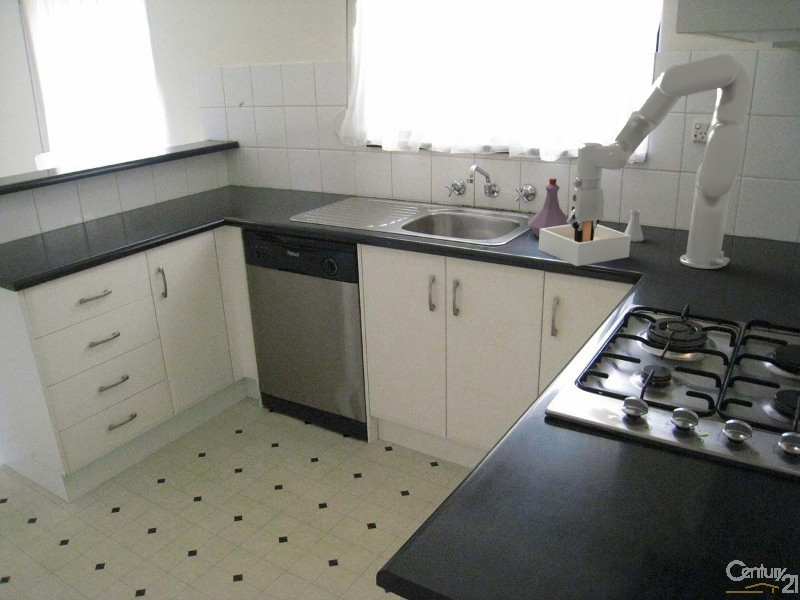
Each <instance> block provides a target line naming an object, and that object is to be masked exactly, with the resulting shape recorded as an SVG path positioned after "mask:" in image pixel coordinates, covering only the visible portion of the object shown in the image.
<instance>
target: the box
mask: <svg viewBox="0 0 800 600" xmlns="http://www.w3.org/2000/svg"><path fill="white" fill-rule="evenodd" d="M578 224H579V222H578ZM574 234H575V229H573V227H572V226H571V225H570V224H569V225H562V226H555V227H549V228H542V229H540V232H539V237H538V250H539V251H541V252H543V253H545V254H548V255H550V256H552V257H554V258H558V260H559V259H560V260H561V261H564V262H566V263H568V264H571V265H573V266H575V267H580V266H585V265H586V266H587V265H590V264H592V265H593V264H597V263H602V262H608V261H612V260H614V261H615V260H619V259H625V258H629V257H630V249H631V241H630V240H631V235H628V234H625V232H622V231H618V230H615V229H613V228H611V227H606V226H605V225H600V224H599V223H598V224H597V226H596V228H595V229H594V239H593V241H587V242H581V243H579V242H576V241H574Z"/></svg>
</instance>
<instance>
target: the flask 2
mask: <svg viewBox="0 0 800 600" xmlns="http://www.w3.org/2000/svg"><path fill="white" fill-rule="evenodd" d="M641 212H642V211H641V210H638V209H631V210H630V213H631V214H630V215H631V216H630V220H629V222H628V224H627V227H626V229H625V230H624V233H625V234H628V235H631V240H630V242H635V243H636V242H643V241H644V240H645V238H644V234H643V231H642V227H641V223H640V214H641Z"/></svg>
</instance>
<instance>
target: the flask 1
mask: <svg viewBox="0 0 800 600" xmlns="http://www.w3.org/2000/svg"><path fill="white" fill-rule="evenodd" d="M548 179H549V181H548V182H549V183H548V184H547V185H545V190H546V196H545V199H544V202H543V206H542V207H541V208H540V209H539V210H538V212H536V213H535V214H534V215H533V216H532V217H531V218H530V219H529V220H528V221H527V224H528V227H529V229H530V230H531V231H532V232H533V233H534V235H535V236H536V238H539V232H540V229H542V228H549V227H555V226H562V225H569V223H567V219H568V216H567V215H566V214H565V213H564V212H563V210H562V209H561V207H560V203H559V198H558V192H559V190H560V186H559V185H558V184H557V178H548Z"/></svg>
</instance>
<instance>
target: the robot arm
mask: <svg viewBox="0 0 800 600" xmlns="http://www.w3.org/2000/svg"><path fill="white" fill-rule="evenodd" d="M713 90H716V98H715V100H716V101H715V105H714V110H713V113H712V118H711V122H710V126H709V128H708V132H707V134H706V138H705V139H706V140H705V141H706V145H705V148H704V149H705V150H704V153H703V158H702V163H700V164H699V166H698V168H697V170H696V174H695V183H694V193H693V202H692V209H691V215H690V224H689V229H688V238H687V239H688V240H687V245H686V253H685V254H683V255H681V256H680V257H679V262H680V263H681V264H683V266H687V267H691V268H696V269H704V270H714V269H715V270H716V269H720V268H724V267H725V266H728V263H730V261H731V259H730V258H729V257H726V256H724V255H725V251H724V250H722V248H723V241H724V237H725V236H724V235H725V229H726V222H727V216H728V210H729V203H730V196H731V190H732V189H733V188H734V186H735V183H736V180H737V177H738V174H739V173H738V172H739V169H740V166H741V162H742V159H743V154H744V150H745V147H746V146H745V145H746V134H745V130H744V128H745V124H746V119H747V114H748V111H749V106H750V100H751V94H752V93H751V92H752V85H751V80H750V76H749V74H748V72H747V70H746V68H745V67H744V65H743V64H742V63H741V62H740V61H739V60H738V59H736V58H735V57H734V56H732V55H731V54H729V53H724V52H720V53H715V54H713V55H712V56H710V57H706V58H703V59H702V58H701V59H700V60H696V61H691V62H687V63H681V64H671V65H669V66H667V67H666V68H664V70H663V71H662V72H661V74H660V75H659V76H658V77H657V78H656V80H655V81H654V82H653V84H652V86H651V87H650V88H649V90H648V91H647V92H646V93H645V95H644V96H643V97H642V98H641V100H640V101H639V102H638V104H637V105H636V107H635V108H633V110H632V112H631V114H630V116H629V118H628V119H627V120H626V122H625V123H624V125H623V126H622V127H621V128H620V130H619V131H618V133H617V134H616V135H615V137H613V139H612V140H611V141H610V143H608V145H603V144H601V143H600V142H599V143H598V142H584V143H580V144H579V145H578V148H577V161H576V177H575V181H573V184H572V185H573V186H574V187H575V188H573V191H572V195H571V201H570V206H569V216H567V218H568V219H567V223H569V224H570V225H571V226H572V227H573V229H575V234H574V241H576V242H579V243H581V242H582V237H583V231H582V230H581V229H582V225H583V222H587V221H592V225H591V237H590V241H593V239H594V229H595V228H596V226H597V224H598V225H599V223H600V222H601V221H602V220H603V219H604V218H605V215H604V210H605V208H604V206H605V203H604V202H605V200H604V197H605V196H604V189H603V187H601V185H602V176H603V175H602V173H603V170H609V171H619V170H621V169H624V168H625V167H626V166H627V164H628V162H629V160H630V158H631V157H632V156H633V154H634V153H635V152H636V150H637V149H638V147H639V146H640V145H641V144H642V143H643V142H644V140H645V139H646V138H647V136H649V134H651V133H652V132H653V131H654V130H655V129H657V128H658V127H659V126H660V125H661V123H662V122H663V121H664V120H665V119H666V117H667V116H668V114H669V113H670V112H671V111H672V109H673V108H674V107H675V106H676V104H678V102H679V101H680V99H681V98H682V97H687V96H692V95H697V94H701V93H704V92H709V91H713ZM578 223H579V224H578Z"/></svg>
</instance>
